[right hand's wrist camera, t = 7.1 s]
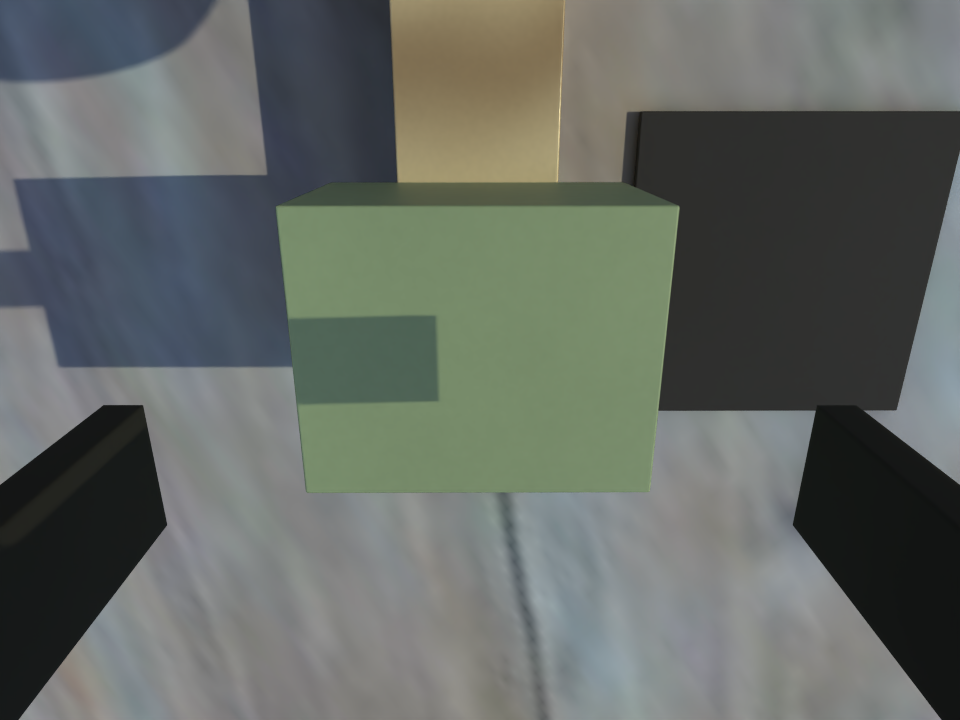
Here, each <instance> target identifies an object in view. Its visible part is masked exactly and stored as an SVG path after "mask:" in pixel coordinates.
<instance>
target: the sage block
mask: <svg viewBox="0 0 960 720" xmlns="http://www.w3.org/2000/svg"><path fill="white" fill-rule="evenodd" d="M678 217H679V206H678V205H676V204H673V203H671V202H669V201H666V200H664V199H662V198H659V197H657V196H655V195H652V194H650V193H647V192H645V191H643V190H640V189H638V188H636V187H633V186H631V185H629V184H626V183H624V182H478V183H329V184H327V185H324V186H322V187H320V188H317V189H315V190H313V191H310V192H308V193H306V194H303V195H301V196H299V197H296V198H294V199H292V200H289V201H287V202H284V203H282V204H280V205H277V206H276V218H277V227H278V236H279V245H280V255H281V264H282V273H283V282H284V292H285V301H286V310H287V320H288V329H289V338H290V347H291V357H292V366H293V375H294V384H295V394H296V403H297V412H298V422H299V431H300V440H301V449H302V459H303V468H304V477H305V486H306V492H307V493H440V492H649V491H650V484H651V475H652V465H653V456H654V446H655V437H656V427H657V418H658V408H659V398H660V389H661V379H662V370H663V360H664V351H665V341H666V332H667V322H668V313H669V303H670V293H671V284H672V274H673V265H674V255H675V246H676V236H677V227H678Z"/></svg>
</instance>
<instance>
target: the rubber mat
mask: <svg viewBox="0 0 960 720" xmlns="http://www.w3.org/2000/svg"><path fill="white" fill-rule="evenodd" d="M959 152H960V111H643V112H640V115H639V128H638V140H637V153H636V166H635V178H634V187H636V188H638V189H640V190H643V191H645V192H647V193H650V194H652V195H655V196H657V197H659V198H662V199H664V200H666V201H669V202H671V203H673V204H676V205H678V206H679V217H678V227H677V236H676V246H675V255H674V265H673V274H672V284H671V293H670V303H669V313H668V322H667V332H666V341H665V351H664V360H663V370H662V379H661V389H660V398H659V408H658V411H723V410H816V408H817V405H857V406H858V407H859V408H861V409H862V410H897V406H898V402H899V398H900V393H901V389H902V385H903V381H904V377H905V373H906V369H907V365H908V361H909V357H910V353H911V348H912V344H913V340H914V336H915V332H916V328H917V324H918V320H919V316H920V312H921V308H922V303H923V299H924V295H925V291H926V287H927V283H928V279H929V275H930V271H931V267H932V263H933V258H934V254H935V250H936V246H937V242H938V238H939V234H940V230H941V226H942V222H943V217H944V213H945V209H946V205H947V201H948V197H949V193H950V189H951V185H952V181H953V177H954V172H955V168H956V164H957V160H958V156H959Z"/></svg>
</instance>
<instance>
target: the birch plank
mask: <svg viewBox="0 0 960 720" xmlns="http://www.w3.org/2000/svg"><path fill="white" fill-rule="evenodd" d="M389 6H390V29H391V53H392V76H393V99H394V122H395V145H396V168H397V183H478V182H558V166H559V141H560V117H561V92H562V67H563V42H564V17H565V0H389Z"/></svg>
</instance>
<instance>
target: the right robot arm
mask: <svg viewBox="0 0 960 720" xmlns="http://www.w3.org/2000/svg"><path fill="white" fill-rule="evenodd" d="M166 526H167V522H166V517H165V512H164V507H163V502H162V497H161V492H160V487H159V482H158V477H157V472H156V467H155V462H154V457H153V452H152V447H151V442H150V438H149V433H148V428H147V423H146V418H145V413H144V408H143V405H103V406H102V407H101V408H99V409H98V410H97V411H96V412H94V413H93V414H92V415H90V416H89V417H88V418H86V419H85V420H84V421H83V422H81V423H80V424H79V425H77V426H76V427H75V428H73V429H72V430H71V431H70V432H68V433H67V434H66V435H64V436H63V437H62V438H61V439H59V440H58V441H57V442H55V443H54V444H53V445H51V446H50V447H49V448H48V449H46V450H45V451H44V452H42V453H41V454H40V455H38V456H37V457H36V458H35V459H33V460H32V461H31V462H29V463H28V464H27V465H25V466H24V467H23V468H22V469H20V470H19V471H18V472H16V473H15V474H14V475H12V476H11V477H10V478H9V479H7V480H6V481H5V482H3V483H2V484H1V485H0V720H19V718H20V717H21V716H22V714H23V713H24V712H25V710H26V709H27V708H28V707H29V705H30V704H31V703H32V701H33V700H34V699H35V697H36V696H37V695H38V693H39V692H40V691H41V689H42V688H43V687H44V686H45V684H46V683H47V682H48V680H49V679H50V678H51V676H52V675H53V674H54V672H55V671H56V670H57V669H58V667H59V666H60V665H61V663H62V662H63V661H64V659H65V658H66V657H67V655H68V654H69V653H70V652H71V650H72V649H73V648H74V646H75V645H76V644H77V642H78V641H79V640H80V638H81V637H82V636H83V635H84V633H85V632H86V631H87V629H88V628H89V627H90V625H91V624H92V623H93V621H94V620H95V619H96V617H97V616H98V615H99V614H100V612H101V611H102V610H103V608H104V607H105V606H106V604H107V603H108V602H109V600H110V599H111V598H112V597H113V595H114V594H115V593H116V591H117V590H118V589H119V587H120V586H121V585H122V583H123V582H124V581H125V580H126V578H127V577H128V576H129V574H130V573H131V572H132V570H133V569H134V568H135V566H136V565H137V564H138V563H139V561H140V560H141V559H142V557H143V556H144V555H145V553H146V552H147V551H148V549H149V548H150V547H151V545H152V544H153V543H154V542H155V540H156V539H157V538H158V536H159V535H160V534H161V532H162V531H163V530H164V528H165V527H166ZM793 526H794V527H795V528H796V530H797V531H798V532H799V534H800V535H801V536H802V538H803V539H804V540H805V542H806V543H807V544H808V545H809V547H810V548H811V549H812V551H813V552H814V553H815V555H816V556H817V557H818V559H819V560H820V561H821V563H822V564H823V565H824V566H825V568H826V569H827V570H828V572H829V573H830V574H831V576H832V577H833V578H834V580H835V581H836V582H837V583H838V585H839V586H840V587H841V589H842V590H843V591H844V593H845V594H846V595H847V597H848V598H849V599H850V600H851V602H852V603H853V604H854V606H855V607H856V608H857V610H858V611H859V612H860V614H861V615H862V616H863V617H864V619H865V620H866V621H867V623H868V624H869V625H870V627H871V628H872V629H873V631H874V632H875V633H876V635H877V636H878V637H879V638H880V640H881V641H882V642H883V644H884V645H885V646H886V648H887V649H888V650H889V652H890V653H891V654H892V655H893V657H894V658H895V659H896V661H897V662H898V663H899V665H900V666H901V667H902V669H903V670H904V671H905V672H906V674H907V675H908V676H909V678H910V679H911V680H912V682H913V683H914V684H915V686H916V687H917V688H918V689H919V691H920V692H921V693H922V695H923V696H924V697H925V699H926V700H927V701H928V703H929V704H930V705H931V707H932V708H933V709H934V710H935V712H936V713H937V714H938V716H939V717H940V718H941V720H960V485H959V484H958V483H957V482H955V481H954V480H953V479H951V478H950V477H949V476H948V475H946V474H945V473H944V472H942V471H941V470H940V469H938V468H937V467H936V466H935V465H933V464H932V463H931V462H929V461H928V460H927V459H925V458H924V457H923V456H922V455H920V454H919V453H918V452H916V451H915V450H914V449H912V448H911V447H910V446H909V445H907V444H906V443H905V442H903V441H902V440H901V439H899V438H898V437H897V436H896V435H894V434H893V433H892V432H890V431H889V430H888V429H887V428H885V427H884V426H883V425H881V424H880V423H879V422H877V421H876V420H875V419H874V418H872V417H871V416H870V415H868V414H867V413H866V412H864V411H863V410H862V409H861V408H859V407H858V406H857V405H817V408H816V413H815V418H814V423H813V428H812V433H811V438H810V442H809V447H808V452H807V457H806V462H805V467H804V472H803V477H802V482H801V487H800V492H799V497H798V502H797V507H796V512H795V517H794V522H793Z"/></svg>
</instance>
